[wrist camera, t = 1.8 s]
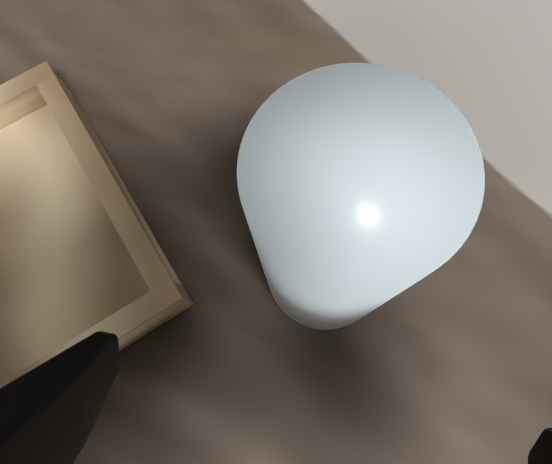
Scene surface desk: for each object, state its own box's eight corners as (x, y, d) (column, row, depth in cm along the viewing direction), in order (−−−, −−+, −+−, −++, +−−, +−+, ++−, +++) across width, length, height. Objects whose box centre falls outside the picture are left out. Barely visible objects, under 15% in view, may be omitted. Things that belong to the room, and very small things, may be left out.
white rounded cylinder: (307, 353, 20) (326, 342, 9) (245, 255, 22) (192, 136, 10) (404, 289, 21) (537, 201, 10) (338, 197, 22) (386, 25, 11)
